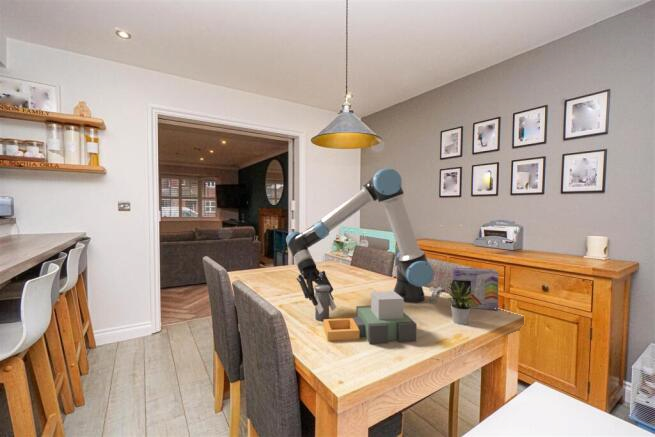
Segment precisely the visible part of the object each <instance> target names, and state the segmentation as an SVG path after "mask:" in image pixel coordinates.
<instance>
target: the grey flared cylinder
mask: <svg viewBox="0 0 655 437" xmlns="http://www.w3.org/2000/svg"><path fill="white" fill-rule="evenodd" d="M313 288H314V293H315V296H317V297H318V299H319V301H320V303H321V305H322V307H323V310H324V311H323V312H322V313H321V314H319V312H318V310H317V308H316V306H315V310H314V311H315V314H314V315H315V316H314V319H315V320H316V321H319V322H324V319H330V306H329V290H330V286H329V285H325V284H320V285H318V284H316V285H313Z"/></svg>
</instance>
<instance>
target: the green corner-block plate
mask: <svg viewBox="0 0 655 437" xmlns="http://www.w3.org/2000/svg"><path fill="white" fill-rule="evenodd" d="M370 294H371V296H370V300H371V301H370V305H359V306H358V305H356V308H355V311H356V313H355V315H356V316H354V317H347V318H346V317H344V318H341V317H340V318H329V319H324V321H323V330H324V334H325V337H326V339H327V342H334V341H335V342H336V341H350V340H360V337H365V338H366V340H367V342H368V343H369V345H376V344H377V345H380V344H388V341H396V340H397V341H398V343H410V342H411V343H412V342H417V323H416V322H415V321H414V320H413V319H412V318H410V316H408V315H407V314H406V313H405V311H404V303H405V302H404V299H403V298H402V297H401V296H400V295H398V294H397V293H396V292H395V291H394V290H391V291H390V290H389V291H371V292H370Z"/></svg>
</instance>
